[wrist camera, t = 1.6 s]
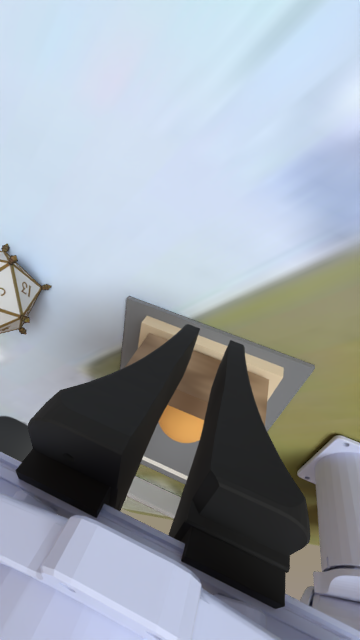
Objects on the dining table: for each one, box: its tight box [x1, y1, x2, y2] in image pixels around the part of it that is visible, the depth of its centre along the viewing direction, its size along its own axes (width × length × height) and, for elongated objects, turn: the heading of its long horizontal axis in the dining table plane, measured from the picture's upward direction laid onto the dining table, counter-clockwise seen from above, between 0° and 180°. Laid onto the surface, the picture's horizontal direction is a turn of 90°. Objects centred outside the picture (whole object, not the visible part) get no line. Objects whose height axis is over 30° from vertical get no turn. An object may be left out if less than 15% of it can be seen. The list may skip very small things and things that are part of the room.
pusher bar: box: [125, 333, 269, 426], centre depth 20 cm, size 10×2×4 cm, turn 78°
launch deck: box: [120, 296, 315, 519], centre depth 32 cm, size 16×34×2 cm, turn 168°
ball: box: [158, 405, 204, 443], centre depth 23 cm, size 5×5×5 cm
